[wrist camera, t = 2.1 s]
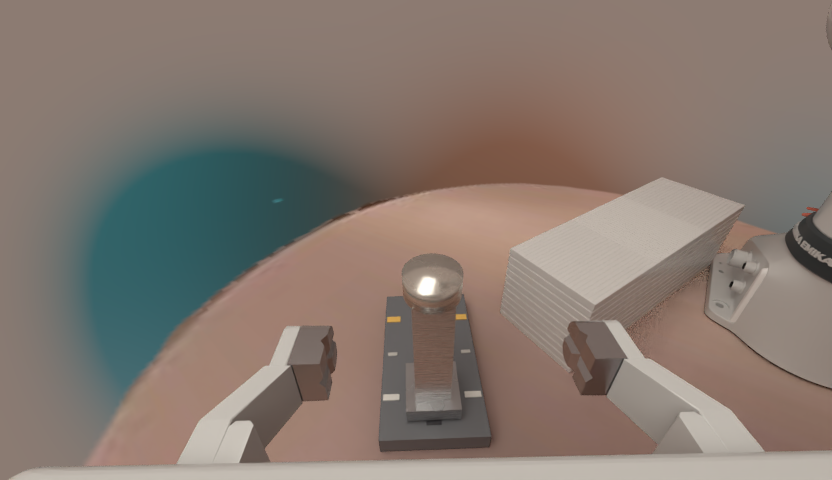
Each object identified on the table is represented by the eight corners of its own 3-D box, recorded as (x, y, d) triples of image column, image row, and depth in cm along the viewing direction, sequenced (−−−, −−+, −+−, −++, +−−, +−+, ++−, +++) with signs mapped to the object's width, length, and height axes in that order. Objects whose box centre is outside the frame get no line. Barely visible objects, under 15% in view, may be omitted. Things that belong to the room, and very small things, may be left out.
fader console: (388, 307, 47) (387, 296, 45) (462, 304, 47) (463, 293, 45) (380, 451, 32) (378, 440, 31) (489, 447, 32) (491, 435, 31)
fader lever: (406, 372, 36) (398, 252, 27) (454, 370, 36) (462, 250, 27) (406, 421, 32) (396, 298, 23) (461, 418, 32) (472, 295, 23)
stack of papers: (568, 374, 38) (595, 304, 32) (499, 314, 46) (510, 248, 39) (707, 268, 52) (745, 205, 46) (637, 235, 59) (661, 177, 53)
